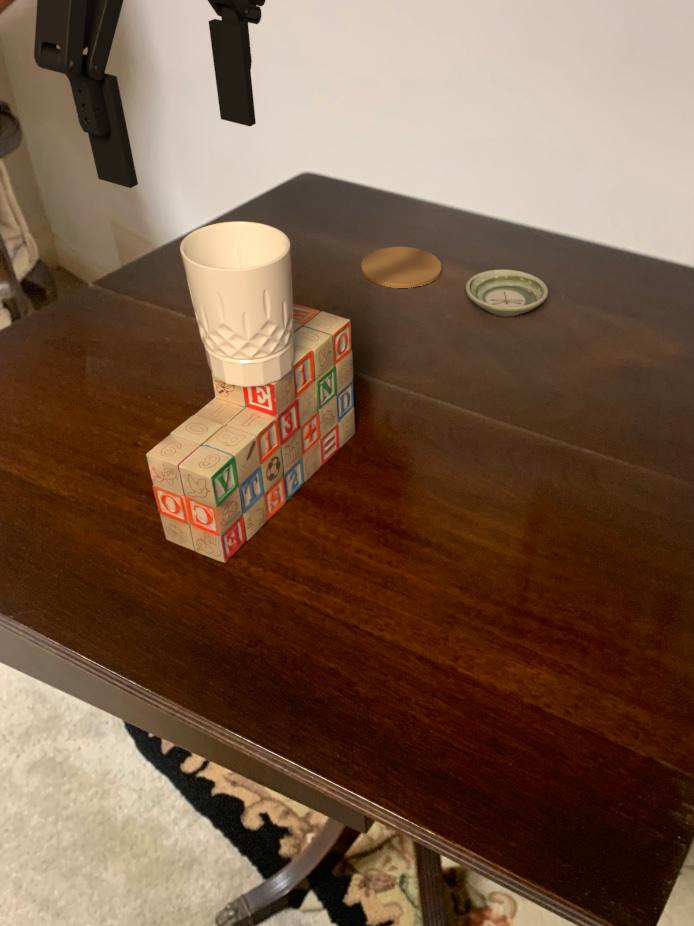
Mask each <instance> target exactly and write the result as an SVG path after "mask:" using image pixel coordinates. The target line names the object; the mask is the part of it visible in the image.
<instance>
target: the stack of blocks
mask: <svg viewBox="0 0 694 926" xmlns="http://www.w3.org/2000/svg"><path fill="white" fill-rule="evenodd" d="M351 326H352V325H351V320H350V319H349V318H345V317H342V316H339V315H336V314H332V313H329V312H327V311H323V310H322V311H320V310H318V309H315V308H311V307H307V306H304V305H301V304H297V303H294V302H293V353H294V360H293V365H292V369H291V371H290V372H289V373H287V374H286V375H285V376H284V377H283V378H282V379H280V380H278V381H275V382H272V383H269V384H266V385H262V386H251V387H242V386H236V385H231V384H227V383H225V382H223V381H221V380H219V379H218V378H216V377H214V375H213V373H212V371H211V370H210V371H211V377H212V383H213V391H214V397H213V398H212V399H211V400H210V401H209V402H208V403H207V404H206V405H203V407H202V408H201V409H199V410H198V411H197V412H196V413H194V414H193V415H191V416H190V417H188V418H187V419H186V420H185V421H184V422H182V423H181V424H180V425H179V426H177V427H176V428H175V429H174V430H172V431H171V432H170V434H169V435H167V436H166V437H165V438H164V439H162V440H161V441H160V442H159V443H157V444H155V446H153V448H152V449H150V450H149V451H147V453H146V454H145V456H146V461H147V464H148V470H149V473H150V478H151V481H152V484H153V485H152V490H153V494H154V499H155V501H156V502H155V503H156V506H157V511H158V513H159V517H160V521H161V524H162V528H163V533H164V537H165V539H166V540H167V541H169V542H171V543H173V544H176V545H179V546H181V547H183V548H186V549H189V550H190V551H194V552H196V553H197V554H199V555H203V556H205V557H208V558H211V559H213V560H215V561H218V562H221V563H227V562H228V561H229V560H230V559H231V557H232V556H234V555H235V553H236V552H237V551H239V550H240V549H241V547H242V546H243V545H244V544H245V543H246V542H248V541H250V539H251V538H253V536H255V534H256V533H257V532H258V531H259V530H260V529H262V528H263V526H265V524H266V523H267V522H268V521H269V520H270V519H271V518H272V517H273V516H274V515H276V513H277V512H278V511H280V509H281V508H282V507H284V505H286V503H287V501H288V500H290V498H291V497H292V496H293V495H294V494H295V493H296V492H297V491H298V490H299V489H300V488H301V487H302V486H303V485H304V484H305V483H306V482H307V481H308V480H309V479H310V478H311V477H312V476H313V475H314V474H315V473H316V472H317V471H318V470H319V469H320V468H321V466H323V465H325V464H326V463H327V462H328V461H330V459H331V458H332V457H333V456H334V455H335V454H336V453H337V452H338V451H339V450H340V449H341V448H342V447H343V446H344V445H345V444H346V443H347V442H348V441H350V439H351V438H352V437H353V436H354V435H355V433H356V420H355V419H356V416H355V415H356V414H355V407H354V406H355V403H354V402H355V401H354V358H353V350H352V327H351Z"/></svg>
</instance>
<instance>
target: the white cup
mask: <svg viewBox="0 0 694 926" xmlns="http://www.w3.org/2000/svg"><path fill="white" fill-rule="evenodd" d="M179 250H180V251H179V252H180V255H181V261H182V264H183V268H184V272H185V273H184V274H185V277H186V281H187V286H188V290H189V295H190V299H191V303H192V308H193V311H194V315H195V319H196V323H197V327H198V331H199V335H200V339H201V342H202V343H203V347H204V352H205V356H206V361H207V364H208V365H207V366H208V368H209V370H210V371H212V372H211V374H212V373H213V375H214V377H216V378H218V379H219V380H221V381H223V382H225V383H227V384H231V385H236V386H242V387H251V386H262V385H266V384H269V383H272V382H275V381H278V380H280V379H282V378H283V377H284V376H285V375H286V374H287V373H289V372H290V371H291V369H292V365H293V360H294V353H293V303H294V294H293V273H292V253H291V251H292V250H291V241H290V238H289V236H288V235H287V234H285V233H284V232H283V230H280V229H278V228H276V227H275V226H271V225H268V224H265V223H260V222H254V221H244V220H243V221H240V220H239V221H224V222H218V223H217V222H216V223H211V224H209V225H205V226H202V227H199V228H197V229H194V231H193V230H192V231H191V232H190V233H188V234H187V235H186V236H185V237H184V238H182V241H181V242H180V244H179Z"/></svg>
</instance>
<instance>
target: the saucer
mask: <svg viewBox="0 0 694 926" xmlns="http://www.w3.org/2000/svg"><path fill="white" fill-rule="evenodd" d="M465 292H466V295H467V297H468V298H469V299H470V300H471V301H472V302H473V303H475V305H476V306H478V307H479V308H480V309H482V310H483V311H486V312H489V313H490V314H491V315H494V316H497V317H498V316H499V317H508V318H509V317H516V315H517V316H520V315H522V314H525V313H528V312H530V311H532V310H534V309H536V308H537V307H538V306H540V305H542V304H543V303H544V302H545V301H546V300H547V298H548V295H549V289H548V287H547V285H546V283H545V282H544V280H542V279H540V278H539V277H537V276H535V275H533V274H531V273H529V272H524V271H520V270H516V269H490V270H485V271H482V272H479V273H476V274H475V275H473V276H472V277H470V278H469V279H468V281H467V282H466V284H465ZM521 313H522V314H521ZM519 314H520V315H519Z"/></svg>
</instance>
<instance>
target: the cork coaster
mask: <svg viewBox="0 0 694 926" xmlns="http://www.w3.org/2000/svg"><path fill="white" fill-rule="evenodd" d="M442 269H443V268H442V262H441V260H439V258H438V257H437V256H436V255H434V254H432V253H431V252H429V251H426V250H424V249H420V248H416V247H411V246H410V247H409V246H391V247H384V248H379V249H376V250H374V251H372V252H370V253H368V254H366V255H365V256H364V257H363V259H362V260H361V263H360V271H361V273H362V275H363V276H364V278H366V280H369V282H371V283H374V284H376V285H378V286H381V287H384V288H390V287H391V289H398V288H408V289H414V288H413V287H416V286H421V287H424V286H423V285H425V286H427V285H426V284H428V283H430V284H432V283H433V282H432V281H434V280H435V281H436V279H437V278H438V277H439V278H440V276H441V275H440V274H442ZM439 275H440V276H439ZM439 278H438V279H439ZM438 279H437V280H438ZM435 281H434V282H435ZM431 282H432V283H431ZM428 285H429V284H428ZM411 287H412V288H411Z"/></svg>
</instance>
